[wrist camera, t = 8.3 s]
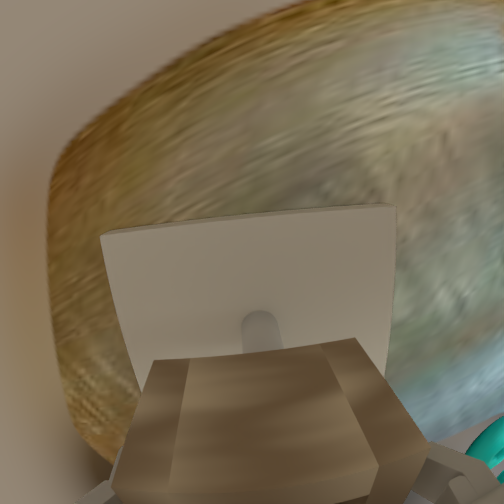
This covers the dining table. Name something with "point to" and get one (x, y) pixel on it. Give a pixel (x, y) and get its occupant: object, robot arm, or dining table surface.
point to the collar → (270, 431)
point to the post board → (254, 283)
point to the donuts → (490, 446)
